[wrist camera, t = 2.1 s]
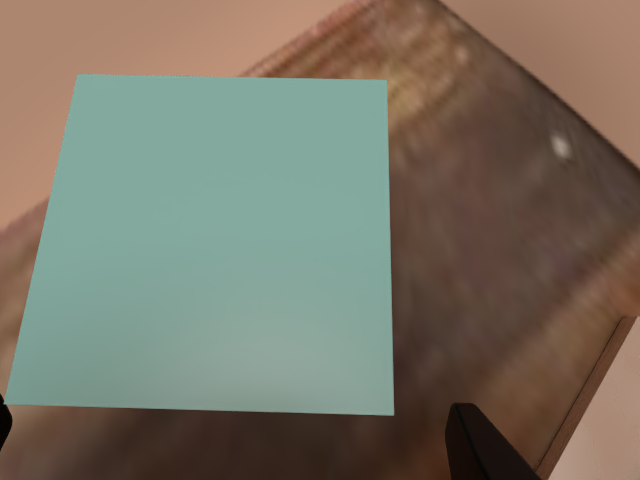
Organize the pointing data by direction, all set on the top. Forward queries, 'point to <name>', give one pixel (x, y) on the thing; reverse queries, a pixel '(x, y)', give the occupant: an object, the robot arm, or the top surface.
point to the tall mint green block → (215, 250)
